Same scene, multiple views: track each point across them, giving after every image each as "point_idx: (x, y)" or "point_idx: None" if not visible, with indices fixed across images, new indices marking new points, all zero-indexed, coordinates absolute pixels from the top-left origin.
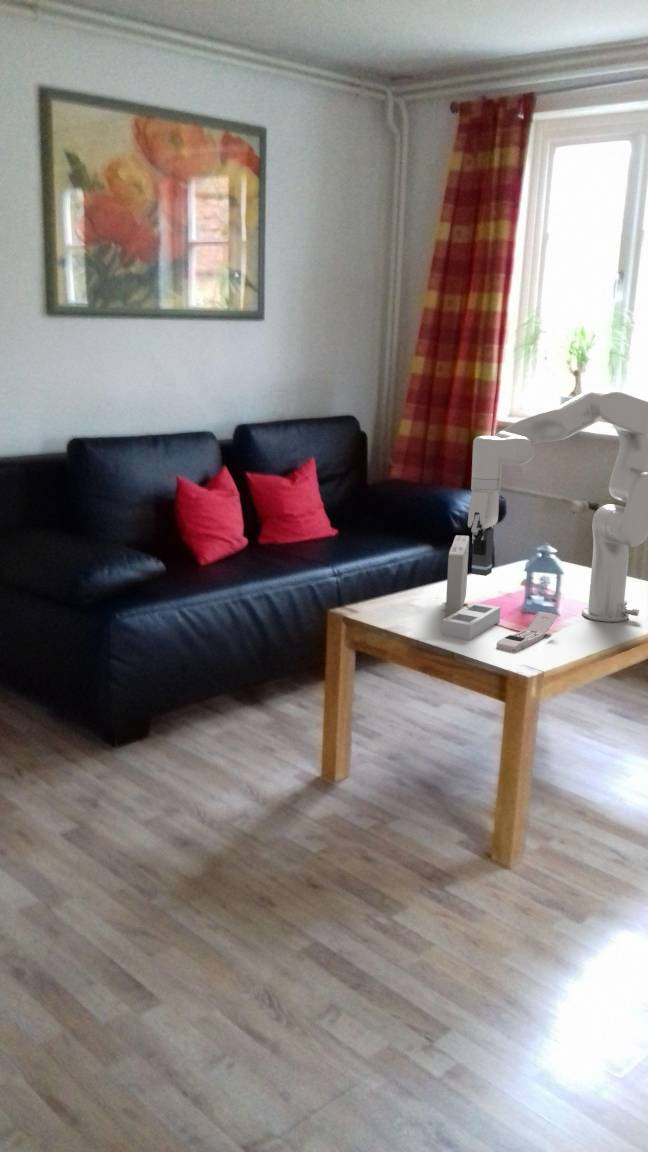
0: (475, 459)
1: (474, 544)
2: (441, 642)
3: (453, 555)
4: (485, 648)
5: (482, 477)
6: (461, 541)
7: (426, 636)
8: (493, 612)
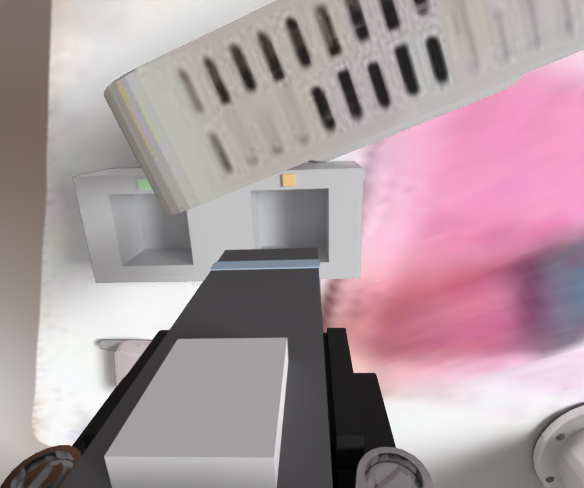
0: None
1: (123, 392)
2: None
3: (131, 133)
4: (126, 307)
5: None
6: None
7: (93, 119)
8: None
